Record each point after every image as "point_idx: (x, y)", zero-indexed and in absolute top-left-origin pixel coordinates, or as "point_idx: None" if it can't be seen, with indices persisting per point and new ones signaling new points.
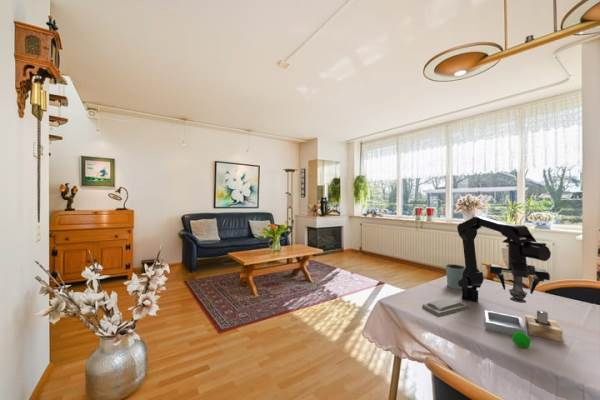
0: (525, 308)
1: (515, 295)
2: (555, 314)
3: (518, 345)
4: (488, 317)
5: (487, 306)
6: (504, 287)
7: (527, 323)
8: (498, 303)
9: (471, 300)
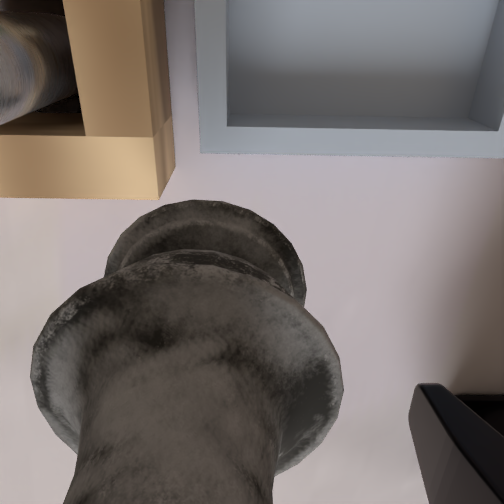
0: None
1: (243, 264)
2: (8, 427)
3: None
4: (465, 110)
5: (394, 359)
6: (460, 424)
7: (152, 35)
8: None
9: (492, 398)
